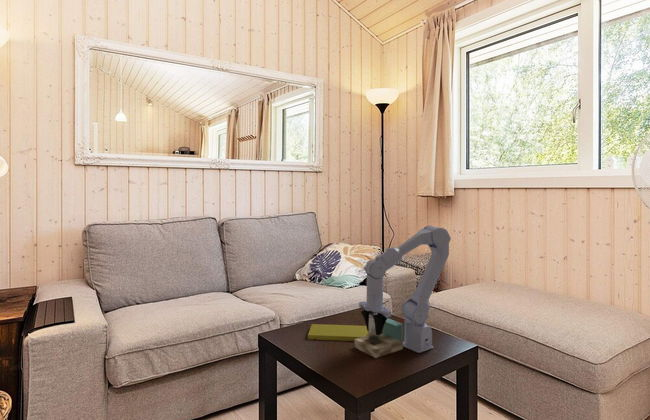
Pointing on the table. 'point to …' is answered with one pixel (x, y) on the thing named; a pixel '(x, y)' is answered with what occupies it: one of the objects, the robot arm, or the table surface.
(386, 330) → the teal block
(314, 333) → the flat olive board
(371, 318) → the peg
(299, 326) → the table surface
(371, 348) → the socket block
